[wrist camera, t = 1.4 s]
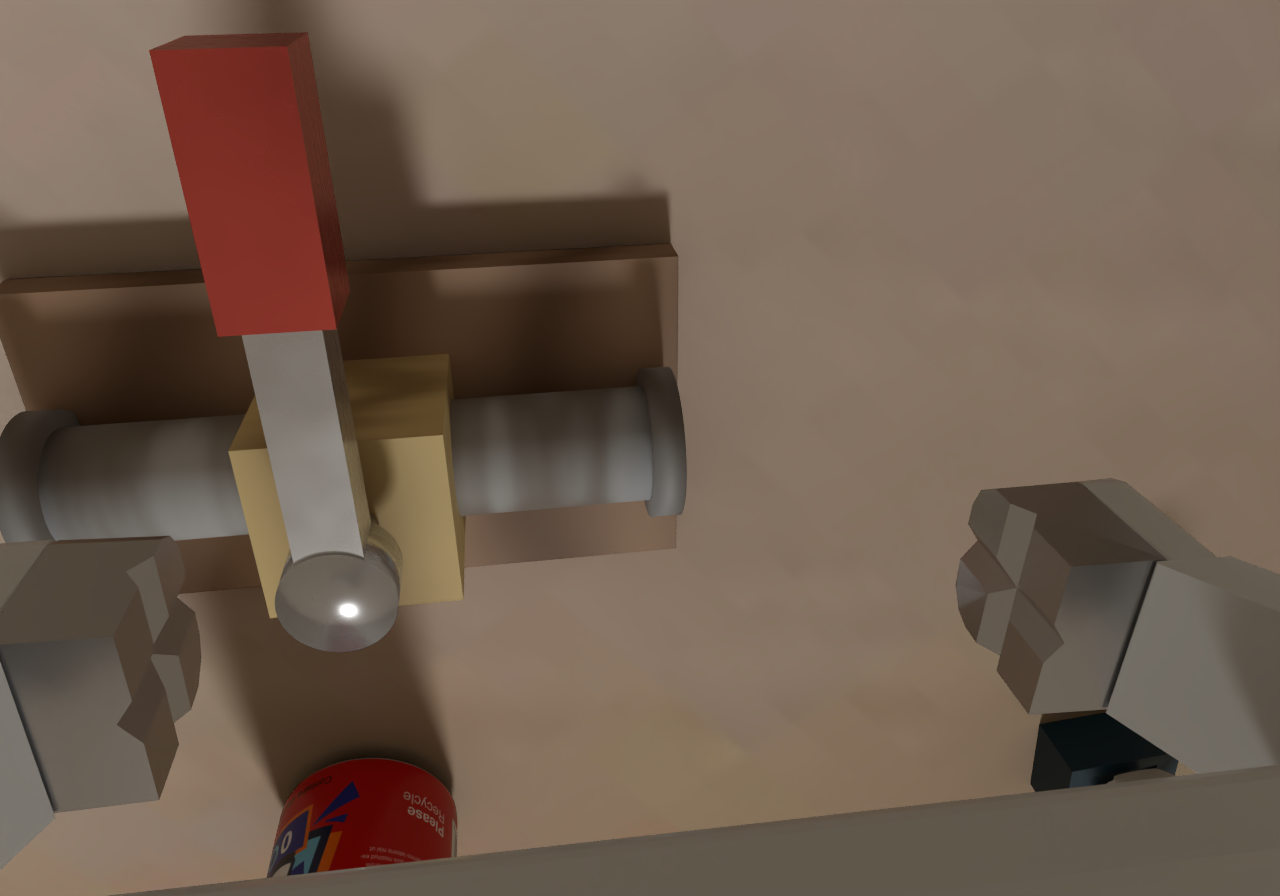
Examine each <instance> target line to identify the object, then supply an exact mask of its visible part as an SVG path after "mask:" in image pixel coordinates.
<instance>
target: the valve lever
mask: <svg viewBox="0 0 1280 896" xmlns="http://www.w3.org/2000/svg"><path fill="white" fill-rule="evenodd" d="M149 51H150V56H151V60H152V64H153V68H154V72H155V76H156V81H157V85H158V89H159V93H160V97H161V102H162V106H163V110H164V114H165V118H166V122H167V127H168V131H169V135H170V139H171V143H172V147H173V152H174V156H175V160H176V164H177V168H178V172H179V177H180V181H181V185H182V189H183V193H184V197H185V202H186V206H187V210H188V214H189V218H190V222H191V227H192V231H193V235H194V239H195V243H196V247H197V252H198V256H199V260H200V264H201V268H202V272H203V277H204V281H205V285H206V289H207V293H208V297H209V302H210V306H211V310H212V314H213V318H214V323H215V327H216V331H217V335H218V337H222V336H238V335H242V339H243V343H244V348H245V352H246V357H247V361H248V365H249V370H250V374H251V379H252V383H253V387H254V392H255V396H256V401H257V405H258V409H259V414H260V418H261V423H262V427H263V431H264V436H265V440H266V445H267V449H268V454H269V458H270V462H271V467H272V471H273V476H274V480H275V484H276V489H277V493H278V498H279V502H280V506H281V511H282V515H283V520H284V524H285V528H286V533H287V537H288V542H289V546H290V549H289V552H288V555H287V558H286V562H285V565H284V568H283V571H282V575H281V578H280V581H279V585H278V588H277V591H276V595H275V611H276V614H277V617H278V619H279V621H280V623H281V625H282V626H283V628H284V629H285V630H286V631H287V632H288V633H289V634H290V635H291V636H292V637H293V638H295V639H296V640H298V641H299V642H301V643H303V644H305V645H307V646H309V647H312V648H315V649H318V650H322V651H328V652H349V651H355V650H359V649H362V648H365V647H368V646H370V645H372V644H374V643H376V642H377V641H379V640H380V639H381V638H382V637H384V636H385V635H386V634H387V633H388V632H389V630H390V629H391V628H392V626H393V624H394V622H395V620H396V617H397V613H398V606H399V598H400V590H401V581H402V573H403V556H402V552H401V549H400V547H399V545H398V543H397V541H396V540H395V539H394V538H393V536H392V535H391V534H390V533H389V532H388V531H387V530H385V529H384V528H382V527H381V526H379V525H378V524H376V523H374V522H372V521H371V519H370V514H369V508H368V502H367V496H366V491H365V485H364V479H363V474H362V468H361V462H360V456H359V451H358V445H357V439H356V434H355V428H354V422H353V416H352V411H351V405H350V399H349V394H348V388H347V382H346V376H345V371H344V365H343V359H342V354H341V348H340V342H339V336H338V331H337V327H338V324H339V321H340V318H341V316H342V313H343V310H344V307H345V304H346V301H347V298H348V296H349V293H350V287H349V281H348V275H347V269H346V263H345V256H344V250H343V244H342V238H341V232H340V226H339V220H338V214H337V208H336V202H335V196H334V190H333V184H332V178H331V171H330V165H329V159H328V153H327V147H326V141H325V135H324V129H323V123H322V117H321V111H320V105H319V99H318V92H317V86H316V80H315V74H314V68H313V62H312V56H311V50H310V44H309V38H308V32H304V33H268V34H231V35H194V36H183V37H181V38H178V39H176V40H173V41H171V42H168V43H166V44H163V45H161V46H159V47H156V48H154V49H151V50H149Z"/></svg>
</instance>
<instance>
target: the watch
mask: <svg viewBox="0 0 1280 896" xmlns="http://www.w3.org/2000/svg"><path fill="white" fill-rule="evenodd" d="M1177 764H1178V760H1177V759H1175V758H1174V757H1172V756H1170V755H1169V754H1167V753H1166V752H1164V751H1163V750H1161V749H1160V748H1158V747H1157V746H1155V745H1154V744H1152V743H1151V742H1149V741H1148V740H1146V739H1145V738H1143V737H1142V736H1140V735H1139V734H1137V733H1136V732H1134V731H1132V730H1131V729H1129V728H1128V727H1126V726H1125V725H1123V724H1122V723H1120V722H1119V721H1117V720H1116V719H1114V718H1113V717H1111V716H1110V715H1108V714H1107V713H1101V714H1095V715H1090V716H1084V717H1079V718H1073V719H1068V720H1062V721H1057V722H1051V723H1046V724H1040V725H1039V732H1038V738H1037V745H1036V751H1035V758H1034V764H1033V771H1032V777H1031V785H1032V787H1033V789H1034V790H1035V792H1040V791H1049V790H1058V789H1067V788H1075V787H1084V786H1093V785H1102V784H1111V783H1120V782H1129V781H1138V780H1147V779H1156V778H1165V777H1174V776H1175V772H1176V768H1177Z"/></svg>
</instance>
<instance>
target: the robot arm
mask: <svg viewBox="0 0 1280 896" xmlns="http://www.w3.org/2000/svg"><path fill="white" fill-rule="evenodd" d="M968 524H969V526H970V528H971V530H972V531H973V533H974V535H975V537H976V538H977V542H976V543H975V544H974V545H973V546H972V547H971V548H970V549H969V550H968V551H967V552H966V553H965V554H964V555H963V557H962V558H961V559H960V564H959V569H958V575H957V580H956V592H957V600H958V609H959V612H960V614H961V617H962V620H963V622H964V625H965V627H966V629H967V630H968V631H969V633H970V634H971V636H972V637H973V639H974V640H975V642H976V643H978V644H980V645H982V646H983V647H985V648H987V649H989V650H991V651H993V652H994V653H996V654H998V655H1000V658H999V662H998V666H997V672H998V673H999V675H1000V676H1001V678H1002V679H1003V680H1004V682H1005V683H1006V684H1007V686H1008V687H1009V688H1010V690H1011V691H1012V693H1013V694H1014V695H1015V697H1016V698H1017V699H1018V701H1019V702H1020V703H1021V705H1022V706H1023V708H1024V709H1025V710H1026V712H1027V713H1028V714H1029V715H1032V714H1046V713H1060V712H1075V711H1089V710H1104V709H1107V711H1106V713H1107V714H1108V715H1110V716H1111V717H1113V718H1114V719H1116V720H1117V721H1119V722H1120V723H1122V724H1123V725H1125V726H1126V727H1128V728H1129V729H1131V730H1132V731H1134V732H1136V733H1137V734H1139V735H1140V736H1142V737H1143V738H1145V739H1146V740H1148V741H1149V742H1151V743H1152V744H1154V745H1155V746H1157V747H1158V748H1160V749H1161V750H1163V751H1164V752H1166V753H1167V754H1169V755H1170V756H1172V757H1174V758H1175V759H1177V760H1178V761H1180V762H1181V763H1183V764H1184V765H1186V766H1187V767H1189V768H1190V769H1192V770H1193V771H1195V772H1196V773H1198V774H1192V775H1183V776H1174V777H1165V778H1156V779H1147V780H1138V781H1129V782H1120V783H1111V784H1102V785H1093V786H1084V787H1075V788H1067V789H1058V790H1049V791H1040V792H1031V793H1022V794H1013V795H1004V796H995V797H986V798H977V799H968V800H959V801H950V802H941V803H932V804H923V805H914V806H905V807H896V808H887V809H878V810H869V811H861V812H852V813H843V814H834V815H825V816H817V817H808V818H799V819H790V820H781V821H773V822H764V823H755V824H746V825H737V826H728V827H719V828H710V829H701V830H692V831H683V832H674V833H665V834H656V835H647V836H638V837H629V838H621V839H612V840H603V841H594V842H585V843H576V844H567V845H558V846H549V847H540V848H531V849H522V850H513V851H504V852H495V853H486V854H477V855H468V856H459V857H450V858H441V859H432V860H423V861H414V862H405V863H396V864H388V865H379V866H370V867H361V868H352V869H343V870H334V871H325V872H316V873H307V874H298V875H289V876H280V877H271V878H262V879H253V880H244V881H235V882H226V883H217V884H208V885H199V886H190V887H181V888H172V889H163V890H154V891H146V892H137V893H128V894H119V895H110V896H1280V574H1277V573H1275V572H1272V571H1269V570H1267V569H1264V568H1261V567H1258V566H1256V565H1253V564H1250V563H1248V562H1245V561H1242V560H1239V559H1237V558H1234V557H1231V556H1227V557H1216V556H1215V555H1214V554H1213V553H1212V552H1210V551H1209V550H1208V549H1207V548H1206V547H1204V546H1203V545H1202V544H1201V543H1199V542H1198V541H1197V540H1196V539H1195V538H1193V537H1192V536H1191V535H1190V534H1188V533H1187V532H1186V531H1185V530H1184V529H1182V528H1181V527H1180V526H1179V525H1177V524H1176V523H1175V522H1174V521H1173V520H1171V519H1170V518H1169V517H1168V516H1167V515H1165V514H1164V513H1163V512H1162V511H1160V510H1159V509H1158V508H1157V507H1156V506H1154V505H1153V504H1152V503H1151V502H1149V501H1148V500H1147V499H1146V498H1145V497H1143V496H1142V495H1141V494H1140V493H1139V492H1137V491H1136V490H1135V489H1134V488H1132V487H1131V486H1130V485H1129V484H1128V483H1126V482H1124V481H1120V480H1117V479H1113V478H1108V479H1098V480H1088V481H1078V482H1069V483H1057V484H1046V485H1034V486H1022V487H1010V488H999V489H988V490H981V491H980V493H979V495H978V496H977V498H976V500H975V501H974V503H973V506H972V510H971V514H970V519H969V523H968ZM185 576H186V571H185V567H184V564H183V560H182V556H181V552H180V549H179V545H178V544H177V543H176V542H175V541H174V540H173V538H172V537H171V536H150V537H125V538H100V539H75V540H58V541H53V540H42V541H28V542H14V543H1V544H0V870H1V869H2V868H3V867H4V866H5V865H6V864H7V863H8V862H9V861H10V860H11V859H12V858H13V857H14V856H16V855H17V854H18V853H19V852H20V851H21V850H22V849H23V848H24V847H25V846H26V845H27V844H28V843H29V842H30V841H31V840H32V839H34V838H35V837H36V836H37V835H38V834H39V833H40V832H41V831H42V830H43V829H44V828H45V827H46V826H47V825H48V824H49V823H50V822H52V821H53V820H54V819H55V815H54V813H59V812H67V811H75V810H83V809H91V808H99V807H107V806H115V805H123V804H131V803H139V802H147V801H155V800H159V799H160V796H161V793H162V791H163V788H164V785H165V782H166V779H167V777H168V774H169V771H170V768H171V765H172V762H173V760H174V757H175V754H176V751H177V748H178V746H179V742H178V738H177V734H176V730H175V726H174V722H176V721H177V720H178V719H180V718H181V717H182V716H183V715H185V714H186V713H187V712H188V711H190V710H191V708H192V705H193V702H194V699H195V696H196V693H197V689H198V685H199V676H200V666H201V646H200V633H199V629H198V624H197V619H196V615H195V612H194V611H193V610H191V609H190V608H189V607H188V606H187V605H185V604H184V603H183V602H182V601H181V600H179V599H178V598H177V595H178V593H179V591H180V588H181V586H182V583H183V581H184V579H185Z"/></svg>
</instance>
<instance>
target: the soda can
mask: <svg viewBox="0 0 1280 896" xmlns="http://www.w3.org/2000/svg"><path fill="white" fill-rule="evenodd" d="M450 857H457V812H456V806H455V803H454V800H453V798H452V796H451V794H450V793H449V791H448V790H447V788H446V787H445V786H444V785H443V784H442V783H441V782H440V781H439V780H438V779H437V778H436V777H434V776H433V775H432V774H430V773H429V772H427V771H425V770H424V769H422V768H420V767H417V766H415V765H412V764H409V763H406V762H403V761H399V760H394V759H387V758H358V759H351V760H346V761H342V762H338V763H335V764H332V765H329V766H327V767H324V768H322V769H320V770H318V771H316V772H315V773H313V774H311V775H310V776H309V777H307V778H306V779H305V780H303V781H302V782H301V783H300V784H299V785H298V786H297V787H296V788H295V789H294V790H293V791H292V793H291V794H290V795H289V797H288V799H287V801H286V803H285V805H284V808H283V810H282V813H281V817H280V821H279V825H278V829H277V833H276V838H275V842H274V847H273V851H272V856H271V860H270V865H269V869H268V873H267V878H271V877H280V876H289V875H298V874H307V873H316V872H325V871H334V870H343V869H352V868H361V867H370V866H379V865H388V864H396V863H405V862H414V861H423V860H432V859H441V858H450Z"/></svg>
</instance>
